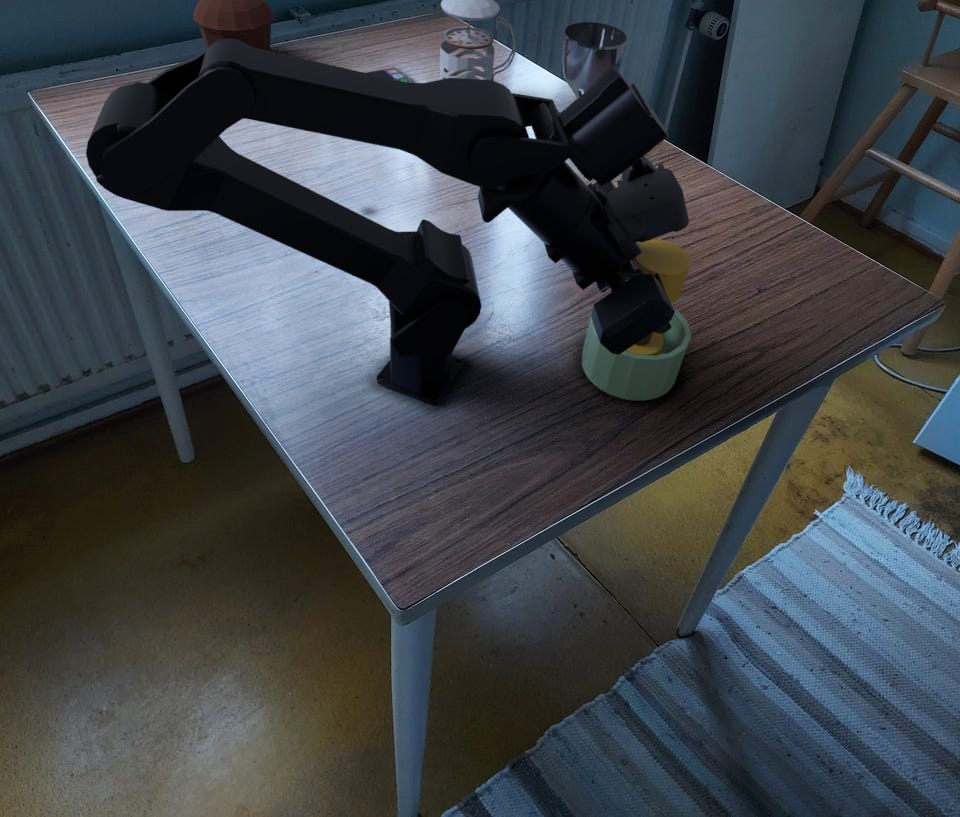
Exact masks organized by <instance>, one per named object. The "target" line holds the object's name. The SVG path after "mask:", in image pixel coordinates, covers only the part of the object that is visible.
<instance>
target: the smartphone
mask: <svg viewBox="0 0 960 817" xmlns="http://www.w3.org/2000/svg"><path fill="white" fill-rule="evenodd" d="M366 73H368V74H372V75H377V76H381V77H385V78H390V79H394V80H399V81H403V82H410V83H416V82H415V81H414V80H412V79H411V78H410V77H409V76H407V75H406V74H405V73H403V72H402V71H400V70H399V69H398V68H397V67H389V68H383V69H379V70H373V71H366Z"/></svg>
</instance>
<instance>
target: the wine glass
mask: <svg viewBox="0 0 960 817" xmlns="http://www.w3.org/2000/svg"><path fill="white" fill-rule="evenodd" d="M562 40H563V42H562V49H561V50H562V52H561V55H562V57H561V60H562V72H563V77H564V79H565V82H566V83H567V85H568V86H569V88H570V89H571V91H572V93H573V94H574V95H575V97H576V99H578V98H579V97H580V96H581V95H582V94H583V93H585V92H586V91H587V90H588V89H589V88H590V87H591V86H592V85H593V84H594V83H595V82H596V80H597V79H598V78H599V77H600V76H601V75H602V74H603V73H604V72H606V71H607V70H608V69H609V68H610V67H611V66H615V67H616V68H617V69H618V71H619V70H620V67H621V65H622V62H623V58H624V54H625V50H626V45H627V40H628V37H627V35H626V34H625V32H624V31H622V30H621V29H620V28H617V27H615V26H612V25H609V24H606V23H601V22H595V21H581V22H576V23H572V24H570V25H568V26H566V28H565V29H564V35H563V39H562Z"/></svg>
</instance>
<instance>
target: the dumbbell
mask: <svg viewBox="0 0 960 817" xmlns="http://www.w3.org/2000/svg"><path fill="white" fill-rule="evenodd" d="M637 244H638V245H639V246H640V249H641V251H642V253H641V254H639V255H638V256H636V257H635V258H634V259H632V260H631V262H632V264H633V266H634V269H635V270H636V269H642V270H643V271H644V272H645V274H653V275H654V274H656V273H658V275H659V277H660V280H661V282H662V284H663V286H664V288H665V291H666V293H667V295H668V297H669V300H670V302H671V304H673V303H674V302H676V301H677V300H678V299H679V298H681V297H680V296H681V294H682V290H683V288H684V286H685V283H686V280H687V276H688V273H689V270H690V267H691V265H692V261H691V256H690V254H689V253H688V252H687V251H686V250H685V249H684V248H683V247H682V246H680V245H677V244H676V243H673V242H672V241H671V242H670V241H667V240H663V239H651V240H648V241H645V242H637ZM625 280H626V279H625ZM626 281H627V280H626ZM663 343H664V340H663V336H662V334H659V333H651V334H650V335H648V336H647V337H645V338H644V339H642V340H641V341H639V342H638V343H636V344H635V345H633V346H632V347H630V348H629V349H627V350H626V351H628V352H631V353H634V354H638V355H651V356H656V355H660V353H661V350H662V347H663Z"/></svg>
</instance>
